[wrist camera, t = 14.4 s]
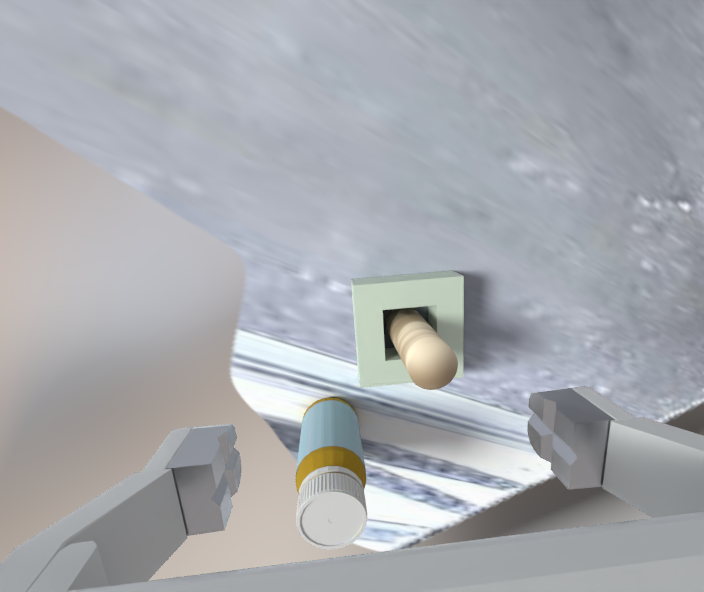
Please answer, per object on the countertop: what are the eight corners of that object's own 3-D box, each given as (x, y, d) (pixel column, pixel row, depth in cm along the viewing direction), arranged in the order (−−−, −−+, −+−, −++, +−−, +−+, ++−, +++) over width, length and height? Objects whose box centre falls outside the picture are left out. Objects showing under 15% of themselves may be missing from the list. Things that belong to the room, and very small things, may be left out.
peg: (384, 307, 41) (407, 345, 30) (421, 304, 42) (458, 341, 30) (386, 342, 42) (409, 392, 31) (422, 339, 43) (457, 387, 31)
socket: (350, 279, 40) (353, 285, 37) (452, 270, 41) (463, 275, 37) (358, 373, 43) (360, 387, 40) (452, 364, 44) (463, 377, 40)
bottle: (291, 418, 44) (273, 521, 29) (332, 384, 43) (335, 472, 29) (328, 452, 45) (328, 566, 31) (368, 420, 45) (388, 520, 30)
